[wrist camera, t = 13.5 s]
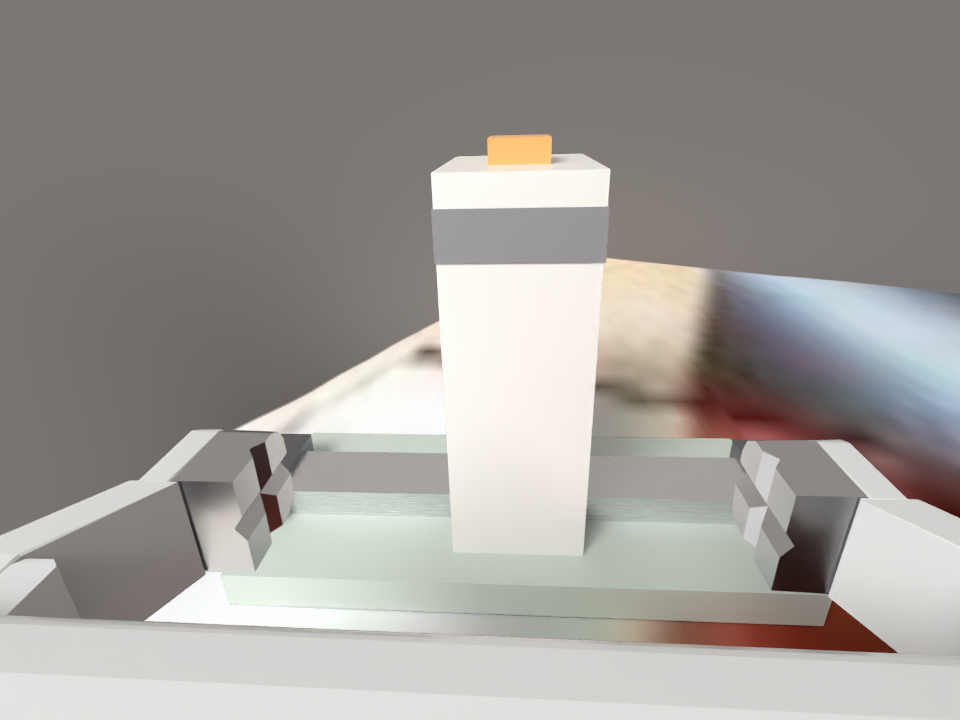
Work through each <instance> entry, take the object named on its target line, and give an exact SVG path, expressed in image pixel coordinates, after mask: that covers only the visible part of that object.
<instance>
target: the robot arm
mask: <svg viewBox="0 0 960 720" xmlns="http://www.w3.org/2000/svg"><path fill="white" fill-rule="evenodd" d="M286 453H287V452H286V447H285V443H284V439H283V437H282V436H281V435H280V434H279V433H278V432H270V431H243V430H221V429H212V430H211V429H204V430H203V429H200V430H194V431H191V432H190V433H189V434H188V435H187V436H186V437H185V438H183V439H182V440H181V441H180V442H179V443H178V444H177V445H176V446H175V447H174V448H173V449H172V450H171V451H170V452H169V453H167V455H165V456H164V457H163V458H162V459H161V460H160V461H159V462H158V463H157V464H156V465H155V466H154V467H153V468H152V469H150V470H149V471H148V472H147V473H146V474H145V475H144V476H143V477H142V478H141V479H140V480H139V481H128V482H125V483H123V484H121V485H118V486H116V487H114V488H111V489H109V490H107V491H104V492H102V493H99V494H97V495H95V496H92V497H90V498H88V499H86V500H83V501H81V502H79V503H76V504H74V505H71V506H69V507H67V508H64V509H62V510H60V511H57V512H55V513H52V514H50V515H48V516H46V517H43V518H41V519H38V520H36V521H34V522H31V523H29V524H27V525H25V526H22V527H20V528H18V529H15V530H13V531H10V532H8V533H6V534H3V535H1V536H0V720H960V518H958V517H956V516H954V515H951V514H949V513H947V512H945V511H942V510H940V509H938V508H936V507H934V506H931V505H929V504H927V503H925V502H922V501H920V500H911V499H907V498H906V497H905V496H904V495H903V494H902V493H901V492H900V491H899V490H897V489H896V488H895V487H894V486H893V485H892V484H891V483H890V482H889V481H888V480H887V479H886V478H885V477H884V476H883V475H882V474H881V473H880V472H879V471H878V470H877V469H876V468H875V467H874V466H873V465H872V464H871V463H870V462H868V461H867V460H866V459H865V458H864V457H863V456H862V455H861V454H860V453H859V452H858V451H857V450H856V449H855V448H854V447H853V446H852V445H851V444H850V443H848V442H845V441H843V440H807V441H747V443H746V444H745V446H744V448H743V451H742V455H741V459H740V463H741V464H742V466H743V467H744V469H745V471H746V472H747V473H746V474H745V475H744V476H743V477H742V478H741V479H740V480H739V481H738V482H736V483H735V489H734V495H733V512H734V518H735V522H736V525H737V528H738V530H739V532H740V534H741V536H742V538H743V539H744V540H746V541H747V542H749V543H750V544H752V545H753V546H755V547H756V550H755V555H754V560H755V562H756V564H757V566H758V568H759V569H760V571H761V573H762V575H763V577H764V579H765V580H766V582H767V584H768V586H769V588H770V590H771V591H786V592H803V593H819V594H829V595H828V597H829V598H830V599H832V600H833V601H834V602H835V603H837V604H838V605H839V606H840V607H842V608H843V609H844V610H845V611H847V612H848V613H849V614H850V615H852V616H853V617H854V618H855V619H857V620H858V621H859V622H860V623H862V624H863V625H864V626H865V627H867V628H868V629H869V630H870V631H872V632H873V633H874V634H875V635H876V636H878V637H879V638H880V639H881V640H883V641H884V642H885V643H886V644H888V645H889V646H890V647H891V648H893V649H894V650H895V651H896V652H898V653H875V652H852V651H829V650H806V649H783V648H760V647H737V646H714V645H691V644H668V643H645V642H621V641H598V640H575V639H550V638H526V637H501V636H477V635H453V634H429V633H406V632H383V631H360V630H337V629H313V628H290V627H267V626H244V625H220V624H197V623H174V622H151V621H145V620H146V619H147V618H148V617H150V616H151V615H152V614H154V613H155V612H156V611H158V610H159V609H160V608H162V607H163V606H164V605H166V604H167V603H168V602H170V601H171V600H172V599H174V598H175V597H176V596H178V595H179V594H180V593H181V592H183V591H184V590H185V589H187V588H188V587H189V586H191V585H192V584H193V583H195V582H196V581H197V580H199V579H200V578H201V577H203V576H204V575H205V572H256V570H257V568H258V566H259V565H260V563H261V561H262V560H263V558H264V556H265V555H266V553H267V551H268V550H269V548H270V546H271V544H272V540H271V535H270V533H271V532H273V531H274V530H276V529H277V528H279V527H280V526H282V525H283V524H284V522H285V520H286V518H287V516H288V515H289V512H290V508H291V504H292V500H293V482H292V477H291V473H290V472H289V471H288V470H287V469H286V468H285V467H284V466H283V465H282V464H281V461H282V460H283V458H284V456H285V455H286Z"/></svg>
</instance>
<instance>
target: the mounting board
mask: <svg viewBox="0 0 960 720" xmlns="http://www.w3.org/2000/svg"><path fill="white" fill-rule="evenodd" d="M311 437H312V443H313V448H314V451H335V452H398V453H447V437H446V435H419V434H345V433H313V434H312V436H311ZM731 446H732V441H731V439H713V438H639V437H591V451H590V456H648V457H710V458H729V456H730V451H731ZM270 535H271V540H272V544H271V546H270V548H269V550H268V551H267V553H266V555H265V556H264V558H263V560H262V561H261V563H260V565H259V566H258V568H257V570H256V572H223V573H222V575H221V577H222V581H223V584H224V587H225V591H226V594H227V598H228V601H229V604H230V605H257V606H284V607H312V608H339V609H366V610H394V611H421V612H449V613H476V614H503V615H531V616H558V617H586V618H613V619H640V620H668V621H695V622H723V623H750V624H777V625H805V626H824V623H825V620H826V617H827V614H828V611H829V608H830V605H831V602H832V599H830V598H829V597H828V595H829V594H819V593H803V592H786V591H771V590H770V588H769V586H768V584H767V582H766V580H765V579H764V577H763V575H762V573H761V571H760V569H759V568H758V566H757V564H756V562H755V560H754V555H755V550H756V547H755V546H753V545H752V544H750V543H749V542H747V541H746V540H744V539H743V538H742V536H741V534H740V532H739V530H738V528H737V525H736V524H696V523H655V522H613V521H586V522H585V537H584V551H583V556H567V555H532V554H497V553H462V552H453V540H452V523H451V518H449V517H407V516H366V515H325V514H289V515H288V516H287V518H286V520H285V522H284V524H283V525H282V526H280V527H279V528H277V529H276V530H274V531H273V532H271V533H270Z"/></svg>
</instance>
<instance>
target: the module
mask: <svg viewBox="0 0 960 720" xmlns="http://www.w3.org/2000/svg"><path fill="white" fill-rule="evenodd" d="M551 142H552V137H551V136H550V135H547V134H546V135H504V136H490V137H489V138H488V156H460V157H456V158H454V159H452V160H450V161H449V162H447V163H446V164H444V165H443V166H441V167H439V168H438V169H436V170H435V171H433V172H432V173H431V182H432V198H433V208H432V209H431V215H432V232H433V249H434V263H435V264H436V266H437V283H438V301H439V318H440V335H441V352H442V369H443V386H444V403H445V420H446V437H447V455H448V472H449V489H450V506H451V523H452V540H453V552H462V553H497V554H532V555H567V556H583V551H584V537H585V522H586V508H587V494H588V480H589V465H590V451H591V437H592V423H593V408H594V394H595V380H596V366H597V351H598V337H599V323H600V309H601V294H602V280H603V266H604V262H606V252H607V237H608V224H609V210H610V207H609V206H608V194H609V180H610V169H609V168H607V167H605V166H604V165H602V164H600V163H598V162H596V161H595V160H593V159H591V158H589V157H587V156H586V155H584V154H551V147H552V145H551V144H552V143H551Z"/></svg>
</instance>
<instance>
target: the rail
mask: <svg viewBox="0 0 960 720" xmlns="http://www.w3.org/2000/svg"><path fill="white" fill-rule="evenodd" d="M281 436H282V437H283V439H284V443H285V447H286V452H287V453H286V455H285V456H284V458H283V460H282V461H281V464H282V465H283V466H284V467H285V468H286V469H287V470H288V471H289V472H290V473H291V477H292V482H293V500H292V504H291V508H290V512H289V514H325V515H366V516H407V517H449V518H451V506H450V489H449V472H448V455H447V453H398V452H335V451H314V448H313V443H312V437H311V434H281ZM747 441H761V440H733V441H732V446H731V451H730V456H729V458H710V457H648V456H590V465H589V480H588V494H587V508H586V521H613V522H655V523H696V524H736V522H735V518H734V512H733V495H734V489H735V483H736V482H738V481H739V480H740V479H741V478H742V477H743V476H744V475H745V474H746V473H747V472H746V471H745V469H744V467H743V466H742V464H741V463H740V459H741V455H742V451H743V448H744V446H745V444H746V443H747Z"/></svg>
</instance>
